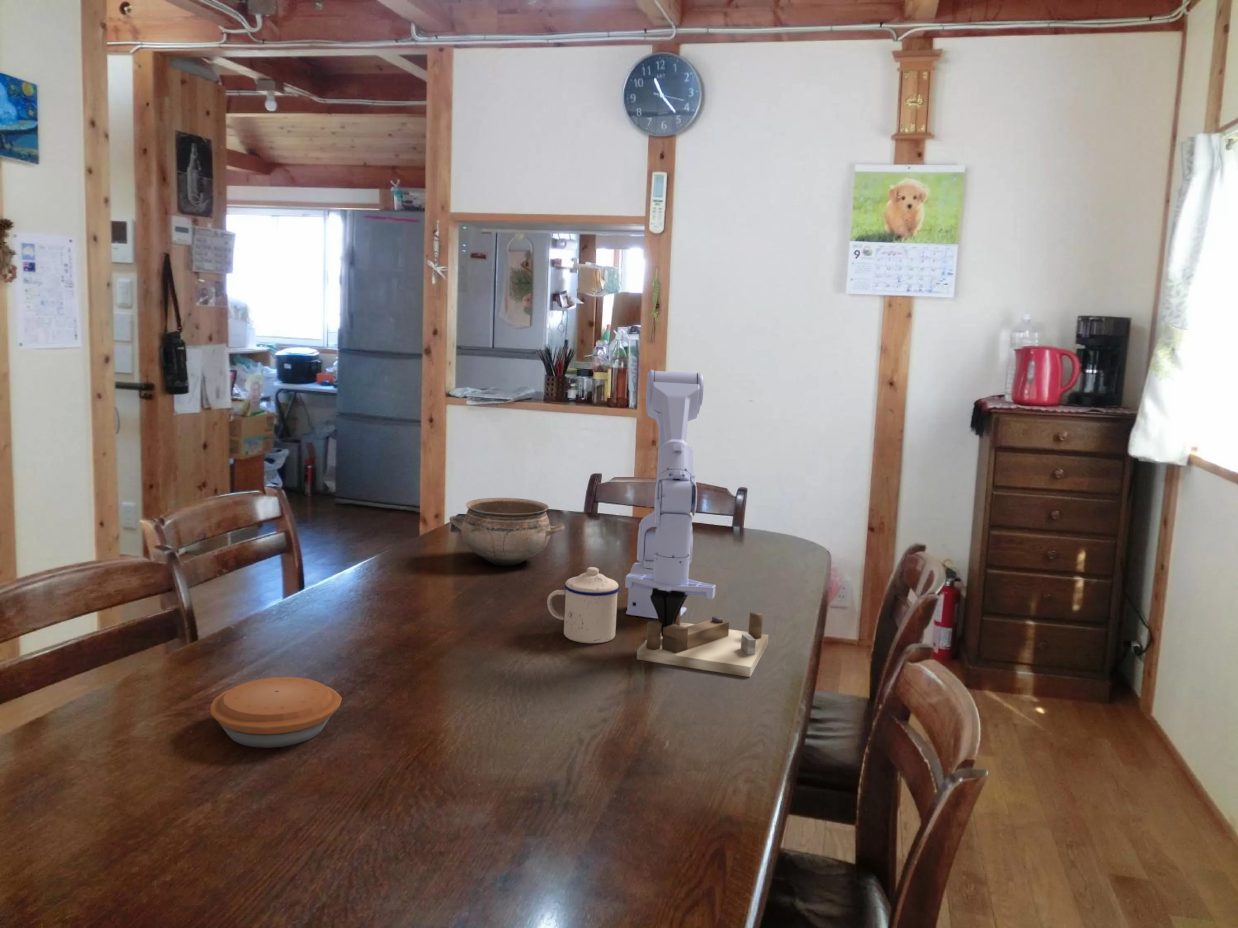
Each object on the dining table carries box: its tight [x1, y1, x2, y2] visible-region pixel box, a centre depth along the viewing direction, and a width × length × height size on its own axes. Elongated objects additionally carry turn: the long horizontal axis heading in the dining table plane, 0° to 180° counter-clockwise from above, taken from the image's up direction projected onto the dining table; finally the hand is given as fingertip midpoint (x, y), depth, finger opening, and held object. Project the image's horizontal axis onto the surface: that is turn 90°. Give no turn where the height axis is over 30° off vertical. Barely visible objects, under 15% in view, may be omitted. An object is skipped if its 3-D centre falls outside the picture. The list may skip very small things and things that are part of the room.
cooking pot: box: [449, 497, 566, 566], centre depth 214 cm, size 25×19×12 cm
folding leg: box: [662, 615, 730, 653], centre depth 163 cm, size 14×3×4 cm, turn 137°
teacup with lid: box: [546, 566, 620, 644], centre depth 168 cm, size 12×9×12 cm
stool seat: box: [636, 609, 770, 678], centre depth 163 cm, size 18×17×6 cm
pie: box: [210, 676, 343, 749], centre depth 126 cm, size 15×16×5 cm
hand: (666, 635), depth 163 cm, fingers closed
